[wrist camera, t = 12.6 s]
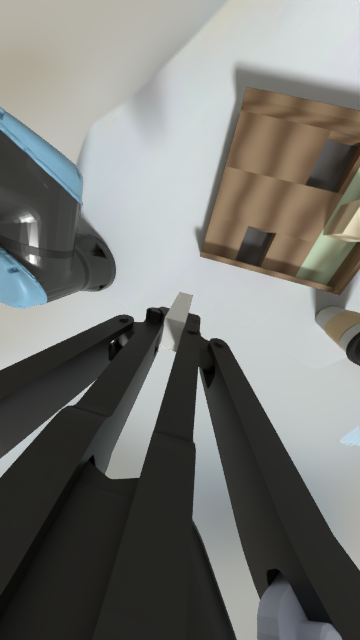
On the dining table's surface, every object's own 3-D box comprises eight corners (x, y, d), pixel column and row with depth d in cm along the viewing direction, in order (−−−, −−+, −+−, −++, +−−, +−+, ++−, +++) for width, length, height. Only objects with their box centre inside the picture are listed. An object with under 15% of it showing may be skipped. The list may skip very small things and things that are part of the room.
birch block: (322, 235, 30) (342, 233, 26) (341, 205, 28) (365, 197, 23) (348, 241, 30) (372, 241, 25) (368, 212, 28) (399, 205, 23)
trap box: (200, 255, 38) (199, 256, 33) (240, 113, 27) (248, 80, 22) (320, 287, 36) (339, 295, 31) (414, 151, 25) (469, 126, 20)
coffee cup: (336, 335, 41) (397, 379, 27) (299, 327, 41) (342, 366, 28) (360, 303, 36) (448, 336, 23) (319, 295, 37) (381, 322, 24)
